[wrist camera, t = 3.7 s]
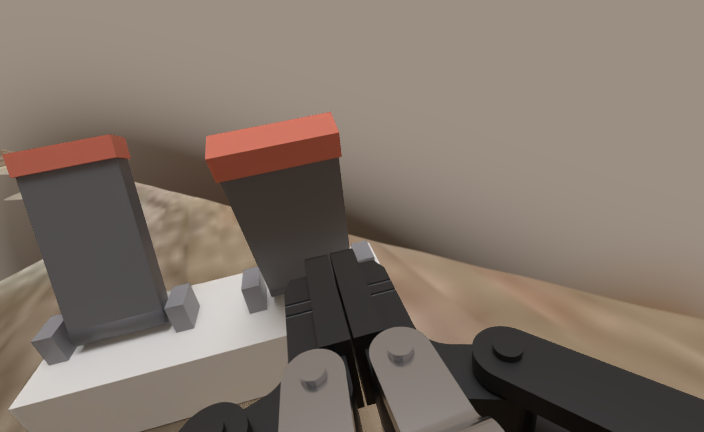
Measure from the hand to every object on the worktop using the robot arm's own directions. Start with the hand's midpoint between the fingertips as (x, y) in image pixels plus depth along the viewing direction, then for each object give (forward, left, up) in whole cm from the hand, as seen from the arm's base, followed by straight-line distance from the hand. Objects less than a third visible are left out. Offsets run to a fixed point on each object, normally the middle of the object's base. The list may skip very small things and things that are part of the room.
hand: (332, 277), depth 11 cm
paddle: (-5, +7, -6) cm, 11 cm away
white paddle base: (-10, +5, -11) cm, 16 cm away
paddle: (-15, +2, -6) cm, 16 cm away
